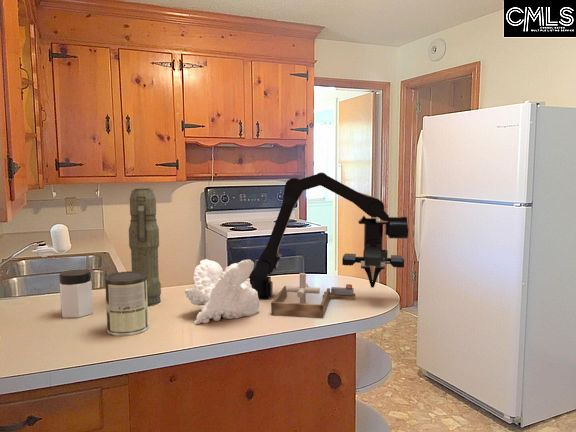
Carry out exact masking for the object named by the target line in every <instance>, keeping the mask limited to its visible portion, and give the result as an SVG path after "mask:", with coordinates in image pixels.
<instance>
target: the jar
mask: <svg viewBox="0 0 576 432" xmlns="http://www.w3.org/2000/svg"><path fill="white" fill-rule="evenodd" d="M91 273H92V272H91V270H89V269H81V268H80V269H69V270H66V271H61V272H60V273H59V274H58V275H59V276H58V277H59V278H58V279H59V290H60V291H59V293H60V294H59V295H60V310H61V315H62V318H64V319H66V318H68V319H73V318H74V319H75V318H76V319H78V318H82V317H85V316H88V315H92V314H93V313H94V309H93V291H92V290H93V289H92V288H93V287H92V286H93V285H92V274H91Z"/></svg>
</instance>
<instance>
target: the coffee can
mask: <svg viewBox="0 0 576 432" xmlns="http://www.w3.org/2000/svg"><path fill="white" fill-rule="evenodd" d="M104 284H105V286H104V287H105V288H104V289H105V305H106V306H105V307H106V308H105V310H106V324H107V328H106V329H107V331H106V332H107V334H109V335H111V336H114V337H115V336H116V337H118V336H119V337H120V336H121V337H125V336H126V337H127V336H133V335H137V334H141V333H143V332H145V331H147V330H148V329H149V328H150V325H149V306H148V302H147V274H146V273H144V272H138V271H132V270H131V271H117V272H114V273H110V274H107V275H106V276H104Z"/></svg>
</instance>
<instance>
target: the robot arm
mask: <svg viewBox="0 0 576 432" xmlns="http://www.w3.org/2000/svg"><path fill="white" fill-rule="evenodd" d="M319 186H320V187H323V188H325V189H326V190H329V191H330V192H332V193H334V194H336V195H338V196H340V197H342V198H344V199H346V201H349V202H351V203H353V204H354V205H355V206H356V207H358V208H359V209H360V210H361V211H363V212H364V213H366V214H367V215H368V216H369V217H366V216H365V215H363V216H362V217H361V218H360V219H359V220H358V221H357V222H358V224H359V225H364V228H363V229H364V230H363V252H362V253H363V256H357V254H356V253H344V254H343V256H342V260H341V261H342V266H351V267H353V266H354V265H355V264H356V263H360V269H363V270H364V271H365V273H366V275H367V279H368V281H369V282H368V283H369V284H370V288H375V286H376V282H377V280H378V276H379V274H380V273H381V271H382V270H385V269H386V267H385V265H386V264H387V265H391V266H392V267H393V268H400V269H401V268H405V258H404V256H403V255H400V254H399V255H398V254H390V257H389V256H388V255H389V254H388V253H389V252H388V249H383V246H384V245H383V244H384V243H383V242H384V241H383V240H384V238H383V237H384V236H388V237H387V238H388V239H398V240H399V239H401V240H403V239H406V240H407V239H408V238H409V227H408V226H409V225H408V217H407V216H389V214H388V213H387V212H386V211H385V204H384V202H383V201H382V200H380V199H379V198H377V197H375V196H372V195H369V194H365V193H362V192H359V191H357V190H355V189H354V188H351V187H349V186H348V185H346V184H344V183H342V182H341V181H339V180H337V179H334V178H333V177H331V176H329V175H327V174H326V173H325V172H323V171H322V172H318V173H317V174H313V175H309V176H306V177H302V178H300V177H291V178H290V179H288V180H287V181H286V182H285V185H284V190H283V197H282V202H281V203H282V204H281V207H280V210H279V212H278V215H277V218H276V220H275V222H274V223H275V224H274V226H273V228H272V232H271V233H270V236H269V239H268V242H267V244H266V246H265V248H264V250H263V251H262V252H261V255H260V256H259V258H258V260H257V261H256V264H255V265H254V267H253V270H252V272H251V274H250V276H249V282H250V284H251V286H252V289H255V290H256V291H257V292H258V294H257V295H258V298H259V300H260V299H262V300H268V299H270V297H271V296H272V295H273V290H274V289H273V286H274V285H273V284H274V283H273V281H272V276H270V274H272V273H273V271H274V270H277V268H278V267H279V260H280V258H281V257H282V256H283V254H282V253H279V250H280V246H281V242H282V240H283V237H284V234H285V231H286V229H287V226H288V223H289V221H290V219H291V216H292V213H293V210H294V208H295V206H296V204H297V203H298V201H299V200H300V198H301V196H302V195H303V193H304V191H306V190H310V189H313V188H316V187H319ZM377 218H378V219H380V220H379V221H377ZM372 267H374V271H373V273H372Z"/></svg>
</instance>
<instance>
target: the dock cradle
mask: <svg viewBox="0 0 576 432" xmlns="http://www.w3.org/2000/svg"><path fill="white" fill-rule="evenodd" d="M286 286H287V285H284V286H283V287H282V289H281V290H280V291H279V292H278V293H277V295H276V296H275V297H274V299H273V300H272V301H271V303H270V304H271V305H270V306H271V309H270V311H271V313H270V314H271V316H283V317H300V318H302V317H303V318H317V319H319V318H320V319H323V318H324V315H325V313H326V311H327V307H328V305H329V303H330V300H345V301H355V300H356V293H355V292H354V296H336V295H331V288H326V291H324V292H323V295H322V300H321V303H320V304H315V303H306V304H300V302H299V303H296V302H295V303H292V302H285V301H286V299H287V298H288V292H286Z"/></svg>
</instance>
